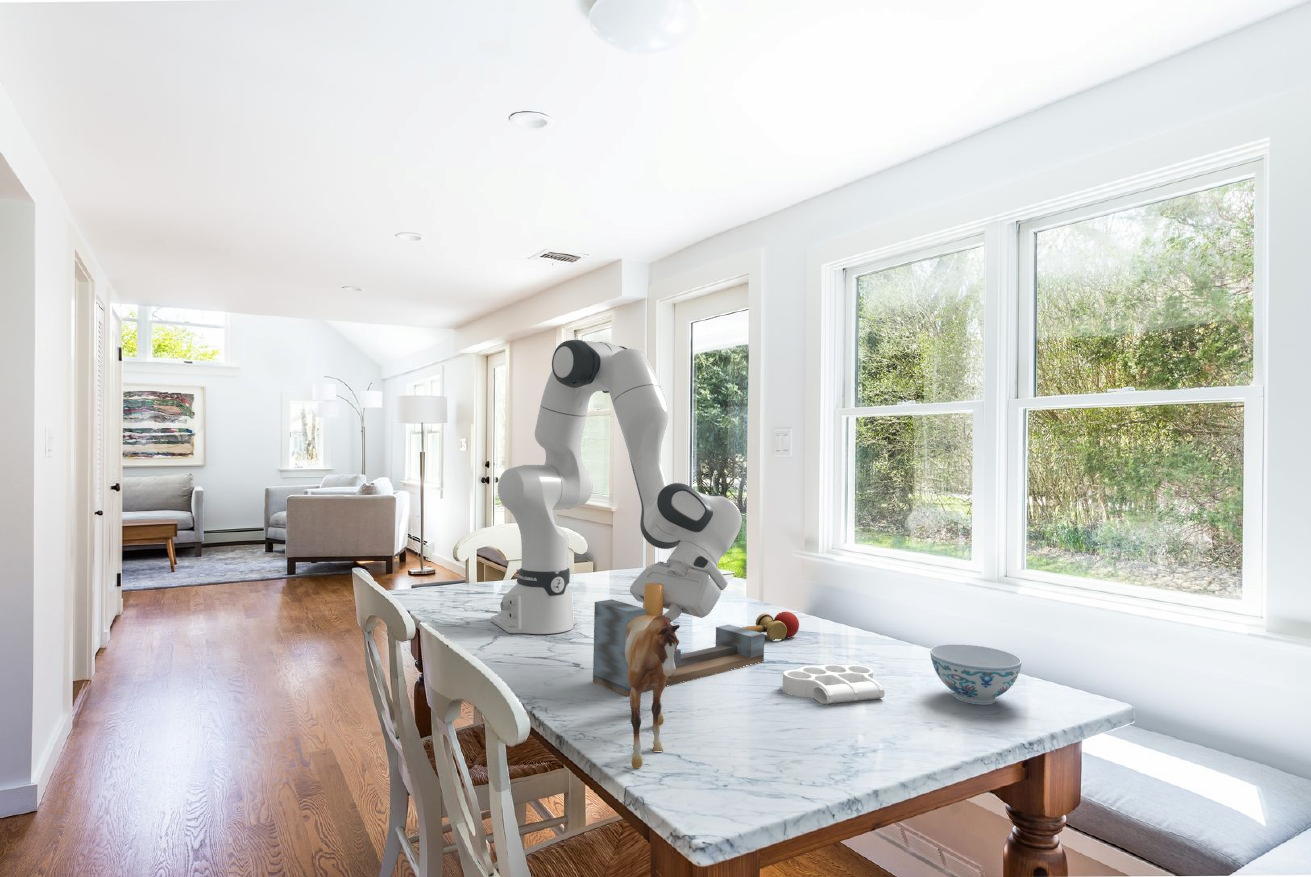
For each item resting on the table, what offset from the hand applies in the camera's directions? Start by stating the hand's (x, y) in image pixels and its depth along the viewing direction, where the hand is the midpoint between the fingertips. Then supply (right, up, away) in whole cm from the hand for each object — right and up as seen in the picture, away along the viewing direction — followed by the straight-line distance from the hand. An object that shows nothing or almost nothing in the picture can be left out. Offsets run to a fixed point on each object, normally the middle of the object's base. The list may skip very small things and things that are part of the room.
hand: (650, 624), depth 140 cm
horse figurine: (+3, -10, -28) cm, 30 cm away
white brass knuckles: (+33, -12, -4) cm, 35 cm away
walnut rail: (+6, -11, +5) cm, 13 cm away
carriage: (0, -7, 0) cm, 7 cm away
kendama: (+26, -12, +33) cm, 43 cm away
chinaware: (+58, -12, -7) cm, 59 cm away
